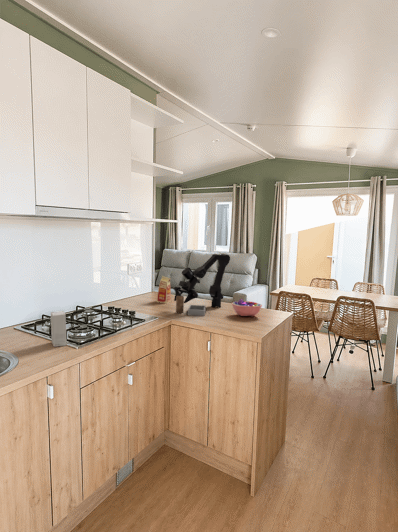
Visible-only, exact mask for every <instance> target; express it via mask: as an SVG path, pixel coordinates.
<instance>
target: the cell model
mask: <svg viewBox="0 0 398 532" xmlns="http://www.w3.org/2000/svg"><path fill="white" fill-rule="evenodd" d="M231 305H232V308H233V310H234V312H235V313H236V315H239V316H241V317H255V316H256V315H259V312H260V311H261V310H262V307H263V304H261V303H257V302H254V301H249V300H248V301H247V300H243V298H241V299H239V300H237V301H233V302H231Z"/></svg>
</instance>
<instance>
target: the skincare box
mask: <svg viewBox="0 0 398 532" xmlns="http://www.w3.org/2000/svg"><path fill="white" fill-rule="evenodd" d="M66 315H67V314H66V313H65V312H64V310H62V311H61V310H60V311H59V310H58V311H52V312H50V327H51V328H50V330H51V332H50V333H51V344H52V346H53V347H55V348H56V347H57V348H58V347H65V346H67V345H68V344H67V343H68V342H67V322H66V321H67V319H66Z"/></svg>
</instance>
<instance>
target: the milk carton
mask: <svg viewBox="0 0 398 532" xmlns="http://www.w3.org/2000/svg"><path fill="white" fill-rule="evenodd" d="M171 287H172V286H171V277H167V276H164V275H161V279H160V281H159V285H158V290H157V295H156V296H157V297H156V303H159V302H160V304H168V303H171V299H172V293H171Z"/></svg>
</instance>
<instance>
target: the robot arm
mask: <svg viewBox="0 0 398 532" xmlns="http://www.w3.org/2000/svg"><path fill="white" fill-rule="evenodd" d="M217 261H218V268H217V272H216V275H215V279H214V282H213V284H212V285H211V284H210V286H209V289H208V294H209V295H210V298H211V307H212V308H222V300H224V295H223V294H222V287H221V285H222V281H223V278H224V274H225V271H226V267H227V266H228V265H229V263H230V261H231V256H230V254H227V253H220V254H217V253H213V254H212V255H211V256H210V258H208V259H207V260H206V262H205V263H203V265H201V266H199V267H197V268H195V269H194V270H193V271H192V269H191V267H188V266H187V267H186V268H184V269H183V270H182V271H181V275H182V277H184V278H185V279H186V281H183V280H179V283H178V286H174V288H173V290H174V292H175V294H174V299H173V301H174V302H176V296H182V294H187V295H186V297H185V298H184V304H186V303H188V302H190V301H191V300H195V299H197V298H198V297H199V293H198V292H197V290H195V286H197V284H200V283H201V279H204V277H205V276H206V275H207V272H208V270H210V268H211V267H212V266H213V265H214V264H216V263H217ZM179 286H180V287H179Z"/></svg>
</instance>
